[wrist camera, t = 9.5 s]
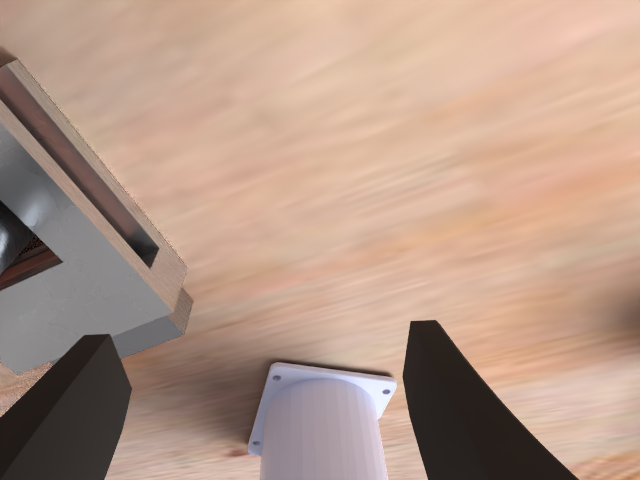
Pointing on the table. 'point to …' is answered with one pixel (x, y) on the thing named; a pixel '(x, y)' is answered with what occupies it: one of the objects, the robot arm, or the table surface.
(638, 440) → the table surface
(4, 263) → the pin
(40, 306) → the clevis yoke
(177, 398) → the table surface
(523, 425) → the robot arm
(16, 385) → the table surface
